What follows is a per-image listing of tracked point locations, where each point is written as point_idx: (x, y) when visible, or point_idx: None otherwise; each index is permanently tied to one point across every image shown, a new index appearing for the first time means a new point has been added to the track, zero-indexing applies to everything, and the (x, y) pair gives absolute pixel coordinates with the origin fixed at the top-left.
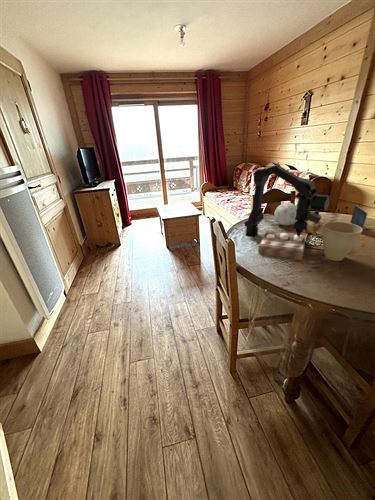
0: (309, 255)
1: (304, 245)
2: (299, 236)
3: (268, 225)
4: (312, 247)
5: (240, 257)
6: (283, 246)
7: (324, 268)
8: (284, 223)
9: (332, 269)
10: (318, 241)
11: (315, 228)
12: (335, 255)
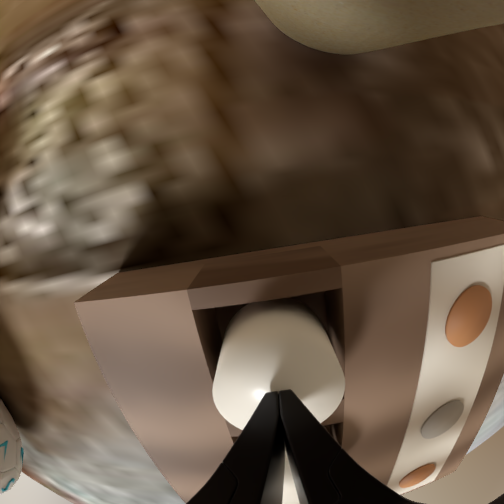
0: (399, 172)
1: (430, 250)
2: (284, 385)
3: (59, 465)
4: (201, 177)
5: (473, 448)
6: (476, 391)
7: (496, 82)
8: (9, 425)
9: (481, 45)
10: (52, 172)
11: None
12: None
